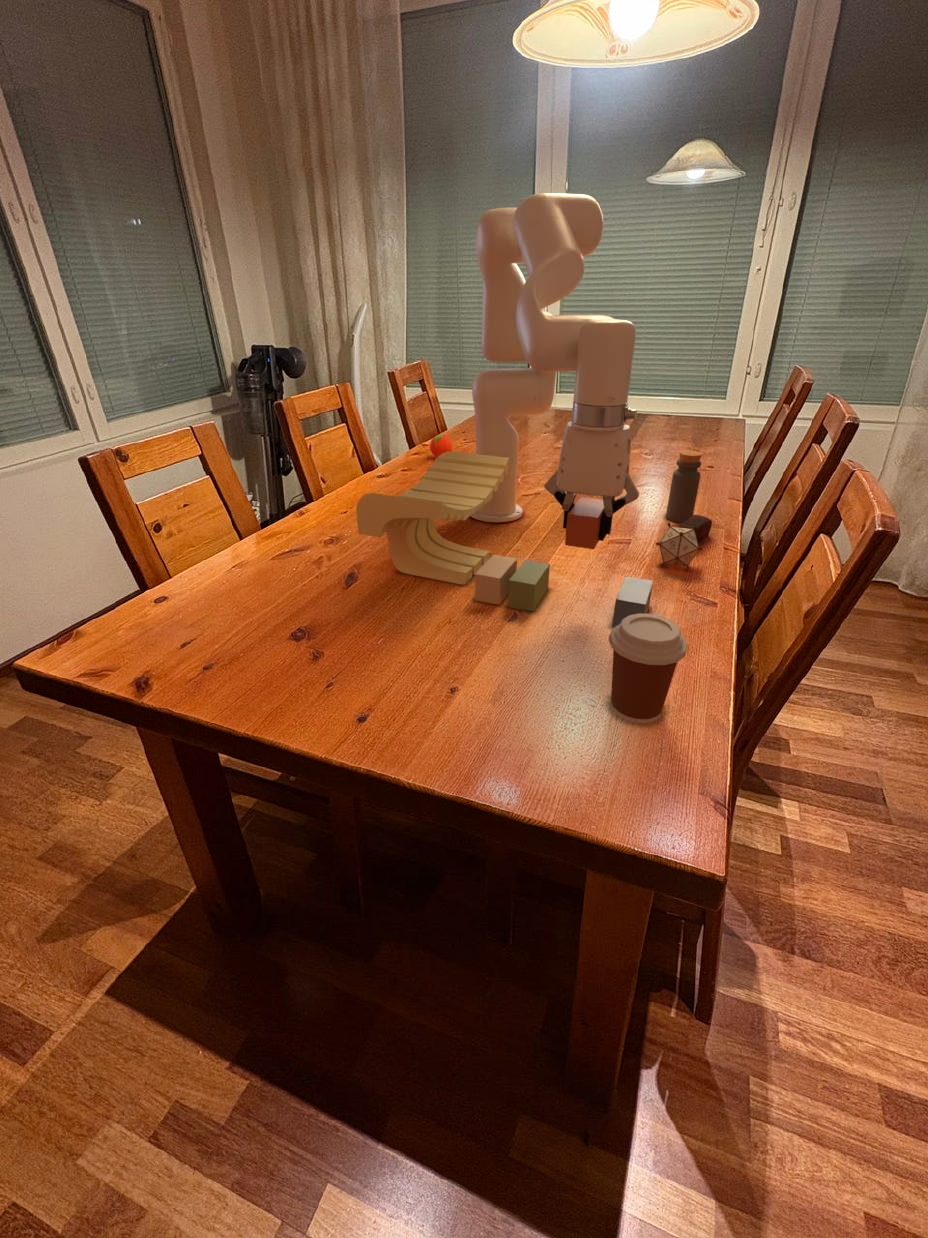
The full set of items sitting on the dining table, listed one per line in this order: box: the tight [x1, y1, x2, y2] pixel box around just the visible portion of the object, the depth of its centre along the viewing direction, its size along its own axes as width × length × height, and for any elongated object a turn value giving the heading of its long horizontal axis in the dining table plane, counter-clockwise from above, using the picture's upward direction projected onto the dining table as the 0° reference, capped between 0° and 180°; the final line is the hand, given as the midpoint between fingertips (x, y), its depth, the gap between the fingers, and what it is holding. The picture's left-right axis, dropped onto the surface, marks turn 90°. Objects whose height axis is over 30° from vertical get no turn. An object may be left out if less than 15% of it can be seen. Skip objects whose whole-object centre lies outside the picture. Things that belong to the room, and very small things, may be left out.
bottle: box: [665, 450, 703, 523], centre depth 136 cm, size 6×6×15 cm
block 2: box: [507, 559, 551, 612], centre depth 103 cm, size 4×9×5 cm, turn 157°
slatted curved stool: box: [355, 450, 509, 586], centre depth 112 cm, size 30×16×18 cm, turn 156°
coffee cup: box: [608, 613, 688, 724], centre depth 75 cm, size 9×9×12 cm
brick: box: [676, 514, 713, 545], centre depth 126 cm, size 11×4×5 cm, turn 141°
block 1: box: [474, 554, 518, 606], centre depth 105 cm, size 4×9×5 cm, turn 157°
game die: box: [655, 522, 704, 571], centre depth 114 cm, size 9×8×10 cm
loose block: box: [564, 496, 604, 550], centre depth 94 cm, size 4×9×5 cm, turn 157°
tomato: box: [429, 434, 453, 458], centre depth 184 cm, size 8×7×7 cm
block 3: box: [611, 576, 654, 628], centre depth 97 cm, size 4×9×5 cm, turn 157°
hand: (586, 534), depth 95 cm, fingers closed on loose block, 4 cm apart
